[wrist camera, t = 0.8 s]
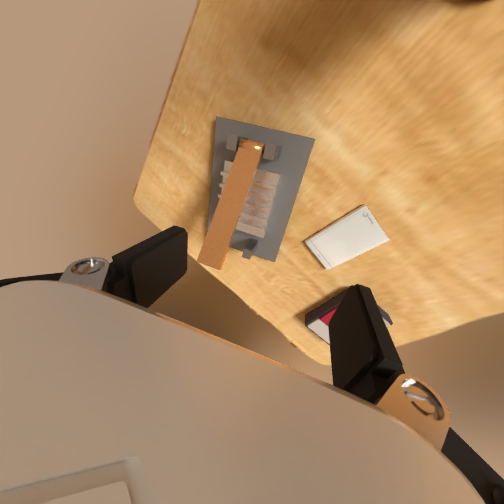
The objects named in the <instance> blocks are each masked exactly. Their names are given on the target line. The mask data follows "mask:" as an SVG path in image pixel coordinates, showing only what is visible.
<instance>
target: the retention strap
mask: <svg viewBox="0 0 504 504" xmlns="http://www.w3.org/2000/svg"><path fill="white" fill-rule="evenodd" d="M264 150H265V144H262V143H258V142H254V141H250V140H246V139H241V140H240V142H239V148H238V151H237V154H236V156H235V159H234V162H233V164H232V167H231V170H230V172H229V175H228V178H227V181H226V183H225V186H224V189H223V191H222V194H221V197H220V200H219V202H218V205H217V208H216V210H215V213H214V216H213V219H212V221H211V224H210V227H209V229H208V232H207V235H206V238H205V240H204V243H203V246H202V248H201V251H200V254H199V257H198V259H197V262H199V263H202V264H205V265H207V266H210V267H213V268H215V269H218V270H221V268H222V265H223V262H224V260H225V257H226V254H227V251H228V249H229V246H230V243H231V240H232V237H233V235H234V232H235V229H236V226H237V224H238V221H239V218H240V215H241V212H242V210H243V207H244V204H245V201H246V199H247V196H248V193H249V190H250V187H251V185H252V182H253V179H254V176H255V174H256V171H257V168H258V165H259V162H260V160H261V157H262V155H263V153H264Z"/></svg>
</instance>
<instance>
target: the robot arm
mask: <svg viewBox="0 0 504 504" xmlns="http://www.w3.org/2000/svg"><path fill="white" fill-rule="evenodd" d="M187 241H188V234H187V232H186V230H185V229H184V228H181V227H178V226H172V227H170V228H168V229H166V230H164V231H162V232H160V233H158V234H156V235H154V236H152V237H150V238H148V239H146V240H144V241H142V242H140V243H138V244H136V245H134V246H132V247H130V248H128V249H126V250H124V251H122V252H120V253H118V254H116V255H114V256H112V259H113V262H111V263H109V262H108V261H107V260H106V259H104V258H98V257H97V258H96V257H92V258H85V259H81V260H78V261H75V262H74V263H72V264H70V265H69V266H68V267H67V268H66V270H65V271H64V272H63V273H55V274H45V275H36V276H27V277H18V278H10V279H3V280H0V504H504V480H503V479H502V478H501V477H500V476H499V475H498V474H497V473H496V472H495V471H494V470H493V469H492V468H491V467H490V466H489V465H488V464H487V463H486V462H485V461H484V460H483V459H482V458H481V457H480V456H479V455H478V454H477V453H476V452H475V451H474V450H473V449H472V448H471V447H469V445H468V444H467V443H466V442H465V441H464V440H463V439H461V437H459V435H457V434H456V433H455V432H454V431H453V430H452V429H451V428H450V423H451V417H450V413H449V410H448V408H447V407H446V405H445V404H444V402H443V400H442V399H441V398H440V397H439V396H438V394H437V393H436V392H435V391H434V390H433V389H432V388H431V387H430V386H429V385H427V384H426V383H425V382H423V381H422V380H420V379H418V378H417V377H415V376H412V375H409V374H405V372H404V369H403V367H402V362H401V360H400V358H399V356H398V353H397V351H396V348H395V346H394V343H393V341H392V339H391V336H390V334H389V332H388V329H387V327H386V325H385V322H384V320H383V318H382V315H381V313H380V311H379V308H378V306H377V304H376V301H375V299H374V297H373V294H372V292H371V289H370V288H368V287H365V286H362V285H359V284H356V285H355V286H353V285H352V286H350V288H349V289H348V291H347V293H346V294H345V296H344V298H343V299H342V301H341V303H340V304H339V306H338V307H337V309H336V311H335V312H334V314H333V316H332V317H331V319H330V321H329V325H328V329H329V340H330V352H331V363H332V375H333V385H331V384H328V383H326V382H324V381H322V380H319V379H317V378H315V377H312V376H310V375H308V374H305V373H303V372H301V371H298V370H296V369H294V368H291V367H289V366H286V365H284V364H281V363H279V362H277V361H274V360H272V359H270V358H267V357H265V356H262V355H260V354H257V353H255V352H253V351H250V350H248V349H246V348H243V347H241V346H238V345H236V344H233V343H231V342H229V341H226V340H223V339H221V338H219V337H216V336H214V335H211V334H209V333H207V332H204V331H202V330H199V329H197V328H195V327H192V326H190V325H187V324H185V323H182V322H180V321H177V320H175V319H172V318H170V317H168V316H165V315H163V314H160V313H158V312H155V311H153V310H150V309H148V307H149V306H151V304H153V303H154V302H155V301H156V300H157V299H158V298H159V297H160V296H161V295H163V293H165V292H166V291H167V290H168V289H169V288H170V287H171V286H172V285H173V284H175V282H177V281H178V280H179V279H180V278H181V277H182V276H183V275H184V274H185V273H186V271H187Z"/></svg>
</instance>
